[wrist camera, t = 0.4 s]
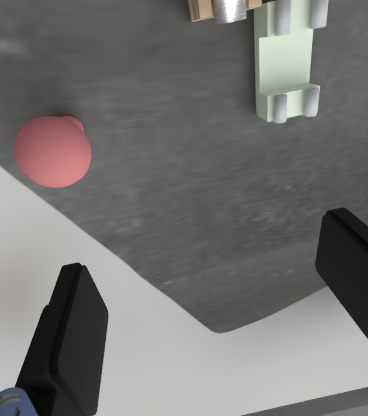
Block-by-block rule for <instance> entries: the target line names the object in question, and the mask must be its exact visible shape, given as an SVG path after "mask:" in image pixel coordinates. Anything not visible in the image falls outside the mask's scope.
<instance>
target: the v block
mask: <svg viewBox="0 0 368 416" xmlns="http://www.w3.org/2000/svg"><path fill="white" fill-rule="evenodd" d="M327 9H328V0H276V1H272V2H267V3H264V4H262V6H261V7H257V8H254V42H255V87H256V115H258V116H259V117H261V118H262V119H264V120H265V121H267V122H270V121H274V122H275V123H284V122H286V118H289V117H293V116H298V115H303V114H304V116H306V117H312V116H316V115H317V110H318V100H319V90H320V86H319V85H315V84H311V83H309V76H310V63H311V50H312V37H313V29H315V28H321V27H325V26H326V19H327Z"/></svg>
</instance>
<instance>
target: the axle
mask: <svg viewBox="0 0 368 416" xmlns="http://www.w3.org/2000/svg"><path fill="white" fill-rule="evenodd" d="M213 5H214V16H215V25H219V24H224V23H229V22H234V21H238V20H243V19H247V18H246V0H213Z"/></svg>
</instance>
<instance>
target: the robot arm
mask: <svg viewBox="0 0 368 416" xmlns="http://www.w3.org/2000/svg"><path fill="white" fill-rule="evenodd" d="M315 266H316V270H317V272H318V274H319V275H320V276H321V278H322V279H323V280H324V282H325V283H326V284H327V286H328V287H329V288H330V289H331V291H332V292H333V293H334V294H335V296H336V297H337V299H338V300H339V301H340V303H341V304H342V305H343V307H344V308H345V309H346V311H347V312H348V313H349V315H350V316H351V317H352V318H353V320H354V321H355V322H356V324H357V325H358V326H359V328H360V329H361V331H362V332H363V333H364V335H365V336H366V337H367V338H368V226H367V225H366V224H364V223H363V222H362V221H361V220H360V219H358V218H357V217H356V216H355V215H354V214H352V213H351V212H350V211H349V210H347V209H346V208H343V207H342V208H338V209H333V210H329V211H327V212H326V215H324V216H323V218H322V224H321V230H320V237H319V243H318V250H317V256H316V262H315ZM107 325H108V310H107V307H106V305H105V303H104V301H103V299H102V297H101V295H100V293H99V291H98V289H97V287H96V285H95V283H94V281H93V279H92V277H91V275H90V273H89V271H88V269H87V267H86V266H85V265H83V266H82V265H81V264H80V263H74V264H68V265H64V266H62V268H61V271H60V274H59V276H58V279H57V282H56V285H55V288H54V291H53V293H52V296H51V299H50V302H49V305H47V306H45V307H44V309H43V311H42V314H41V317H40V319H39V322H38V325H37V328H36V330H35V333H34V336H33V338H32V341H31V344H30V347H29V349H28V352H27V355H26V357H25V360H24V363H23V365H22V368H21V371H20V374H19V376H18V379H17V382H16V385H15V387H13V388H8V389H5V390H3V391H1V392H0V416H93V415H95V414H96V412H97V407H98V399H99V390H100V382H101V374H102V366H103V358H104V357H103V356H104V349H105V341H106V333H107ZM242 416H368V387H367V388H362V389H357V390H353V391H348V392H344V393H339V394H335V395H331V396H326V397H321V398H317V399H312V400H308V401H304V402H300V403H295V404H290V405H286V406H282V407H277V408H273V409H268V410H264V411H260V412H255V413H251V414H246V415H242Z"/></svg>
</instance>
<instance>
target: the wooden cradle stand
mask: <svg viewBox="0 0 368 416" xmlns="http://www.w3.org/2000/svg"><path fill="white" fill-rule="evenodd" d="M188 5H189V12H190V20H191V22H194V21H199V20H204V19H209V18H214V17H215V16H214V5H213V0H188ZM261 6H262V0H246V10H250V9H254V8H257V7H261Z"/></svg>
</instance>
